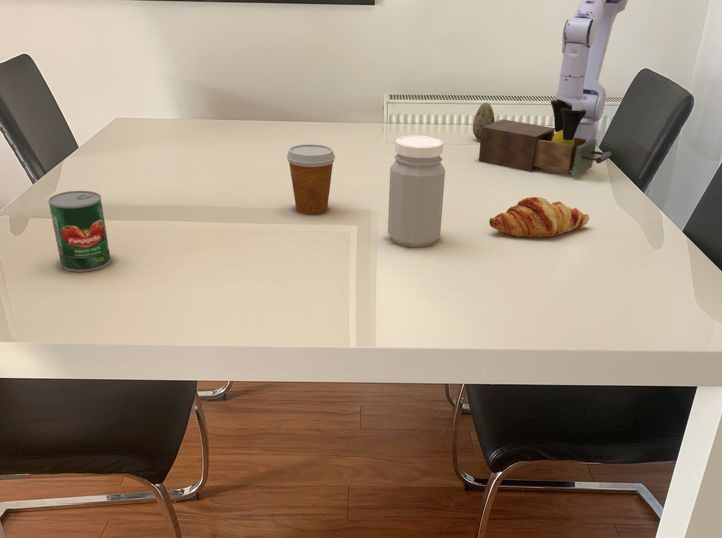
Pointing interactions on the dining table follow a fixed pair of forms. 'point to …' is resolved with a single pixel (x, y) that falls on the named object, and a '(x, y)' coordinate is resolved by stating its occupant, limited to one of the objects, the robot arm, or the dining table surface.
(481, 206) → the dining table surface
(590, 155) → the drawer
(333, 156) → the disposable coffee cup
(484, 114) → the decorative egg
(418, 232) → the jar
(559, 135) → the lemon
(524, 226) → the croissant
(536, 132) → the cabinet
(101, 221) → the canned tomato
